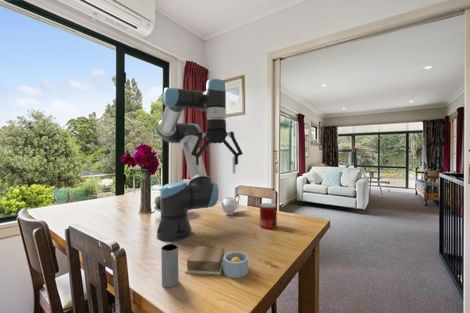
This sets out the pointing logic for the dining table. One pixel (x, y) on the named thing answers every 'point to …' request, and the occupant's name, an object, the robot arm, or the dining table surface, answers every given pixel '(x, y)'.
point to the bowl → (235, 264)
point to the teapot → (230, 205)
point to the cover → (205, 259)
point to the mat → (205, 271)
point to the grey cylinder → (169, 265)
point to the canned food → (268, 216)
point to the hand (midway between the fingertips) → (217, 173)
